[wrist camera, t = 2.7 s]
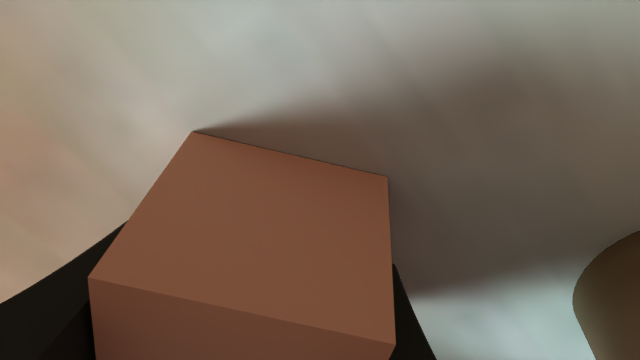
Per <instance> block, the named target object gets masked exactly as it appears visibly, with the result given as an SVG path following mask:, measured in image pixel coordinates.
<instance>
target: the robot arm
mask: <svg viewBox="0 0 640 360" xmlns="http://www.w3.org/2000/svg"><path fill="white" fill-rule="evenodd" d="M126 223H127V221H126V222H125V223H124V224H122V225H121V226H120V227H118V228H117V229H116V230H114V231H113V232H112V233H110V234H109V235H107V236H106V237H105V238H103V239H102V240H101V241H99V242H98V243H96V244H95V245H93V246H92V247H91V248H89V249H88V250H86V251H85V252H83V253H82V254H80V255H79V256H78V257H76V258H75V259H73V260H72V261H70V262H69V263H67V264H66V265H64V266H63V267H61V268H59V269H58V270H56V271H55V272H53V273H52V274H50V275H48V276H47V277H45V278H44V279H42V280H40V281H39V282H37V283H36V284H34V285H32V286H31V287H29V288H27V289H26V290H24V291H22V292H20V293H19V294H17V295H15V296H13V297H12V298H10V299H8V300H6V301H4V302H2V303H1V304H0V360H96V354H95V345H94V335H93V325H92V316H91V306H90V296H89V286H88V276H89V275H90V273H91V272H92V270H93V269H94V268H95V266H96V265H97V263H98V262H99V261H100V259H101V258H102V256H103V255H104V254H105V252H106V251H107V249H108V248H109V247H110V245H111V244H112V242H113V241H114V240H115V238H116V237H117V235H118V234H119V233H120V231H121V230H122V228H123V227H124V226H125V224H126ZM392 278H393V298H394V318H395V337H396V345H395V347H394V350H393V352H392V354H391V356H390V358H389V360H437V359H436V357H435V355H434V353H433V351H432V349H431V348H430V346H429V343H428V341H427V339H426V337H425V335H424V333H423V331H422V329H421V327H420V324H419V322H418V320H417V318H416V316H415V313H414V311H413V309H412V306H411V304H410V301H409V299H408V297H407V294H406V292H405V289H404V287H403V284H402V281H401V279H400V276H399V273H398V271H397V268H396V267H395V265H394V264H392Z"/></svg>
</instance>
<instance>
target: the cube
mask: <svg viewBox="0 0 640 360" xmlns="http://www.w3.org/2000/svg"><path fill="white" fill-rule="evenodd" d="M88 286H89V296H90V306H91V316H92V325H93V335H94V345H95V354H96V360H389V358H390V356H391V354H392V352H393V350H394V347H395V345H396V337H395V318H394V298H393V278H392V258H391V239H390V219H389V199H388V179H387V177H385V176H381V175H376V174H372V173H368V172H364V171H359V170H355V169H351V168H346V167H342V166H338V165H333V164H329V163H325V162H320V161H316V160H312V159H307V158H303V157H299V156H294V155H290V154H286V153H282V152H277V151H273V150H269V149H264V148H260V147H256V146H251V145H247V144H243V143H238V142H234V141H230V140H225V139H221V138H217V137H213V136H208V135H204V134H200V133H195V132H191V133H190V134H189V136H188V137H187V139H186V140H185V141H184V143H183V144H182V146H181V147H180V148H179V150H178V151H177V153H176V154H175V155H174V157H173V158H172V160H171V161H170V162H169V164H168V165H167V167H166V168H165V169H164V171H163V172H162V174H161V175H160V176H159V178H158V179H157V181H156V182H155V184H154V185H153V186H152V188H151V189H150V191H149V192H148V193H147V195H146V196H145V198H144V199H143V200H142V202H141V203H140V205H139V206H138V207H137V209H136V210H135V212H134V213H133V214H132V216H131V217H130V219H129V220H128V221H127V223H126V224H125V226H124V227H123V228H122V230H121V231H120V233H119V234H118V235H117V237H116V238H115V240H114V241H113V242H112V244H111V245H110V247H109V248H108V249H107V251H106V252H105V254H104V255H103V256H102V258H101V259H100V261H99V262H98V263H97V265H96V266H95V268H94V269H93V270H92V272H91V273H90V275H89V276H88Z"/></svg>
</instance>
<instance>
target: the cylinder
mask: <svg viewBox="0 0 640 360" xmlns="http://www.w3.org/2000/svg"><path fill="white" fill-rule="evenodd" d="M573 309H574V312H575V315H576V318H577V320H578V322H579V324H580V326H581V328H582V330H583V333H584V335H585V337H586V339H587V341H588V343H589V346H590V348H591V350H592V352H593V354H594V356H595V358H596V360H640V231H638V232H636V233H633V234H631V235H629V236H627V237H625V238H623V239H621V240H619V241H618V242H616V243H615V244H613V245H611V246H610V247H608V248H607V249H606V250H604V251H603V252H602V253H600V254H599V255H598V256H597V257H596V258H595V259H594V260H593V261H592V262H591V263H590V264H589V265H588V266H587V267H586V269H585V270H584V271H583V273H582V274H581V276H580V277H579V279H578V281H577V283H576V286H575V289H574V293H573Z"/></svg>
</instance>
